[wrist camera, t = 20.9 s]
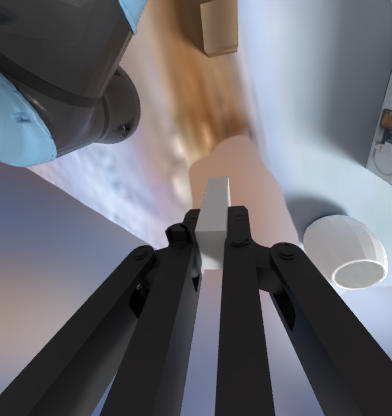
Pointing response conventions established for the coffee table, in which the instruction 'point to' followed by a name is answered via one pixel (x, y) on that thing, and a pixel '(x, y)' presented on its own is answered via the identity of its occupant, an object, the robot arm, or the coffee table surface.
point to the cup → (345, 252)
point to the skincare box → (383, 141)
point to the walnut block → (220, 27)
